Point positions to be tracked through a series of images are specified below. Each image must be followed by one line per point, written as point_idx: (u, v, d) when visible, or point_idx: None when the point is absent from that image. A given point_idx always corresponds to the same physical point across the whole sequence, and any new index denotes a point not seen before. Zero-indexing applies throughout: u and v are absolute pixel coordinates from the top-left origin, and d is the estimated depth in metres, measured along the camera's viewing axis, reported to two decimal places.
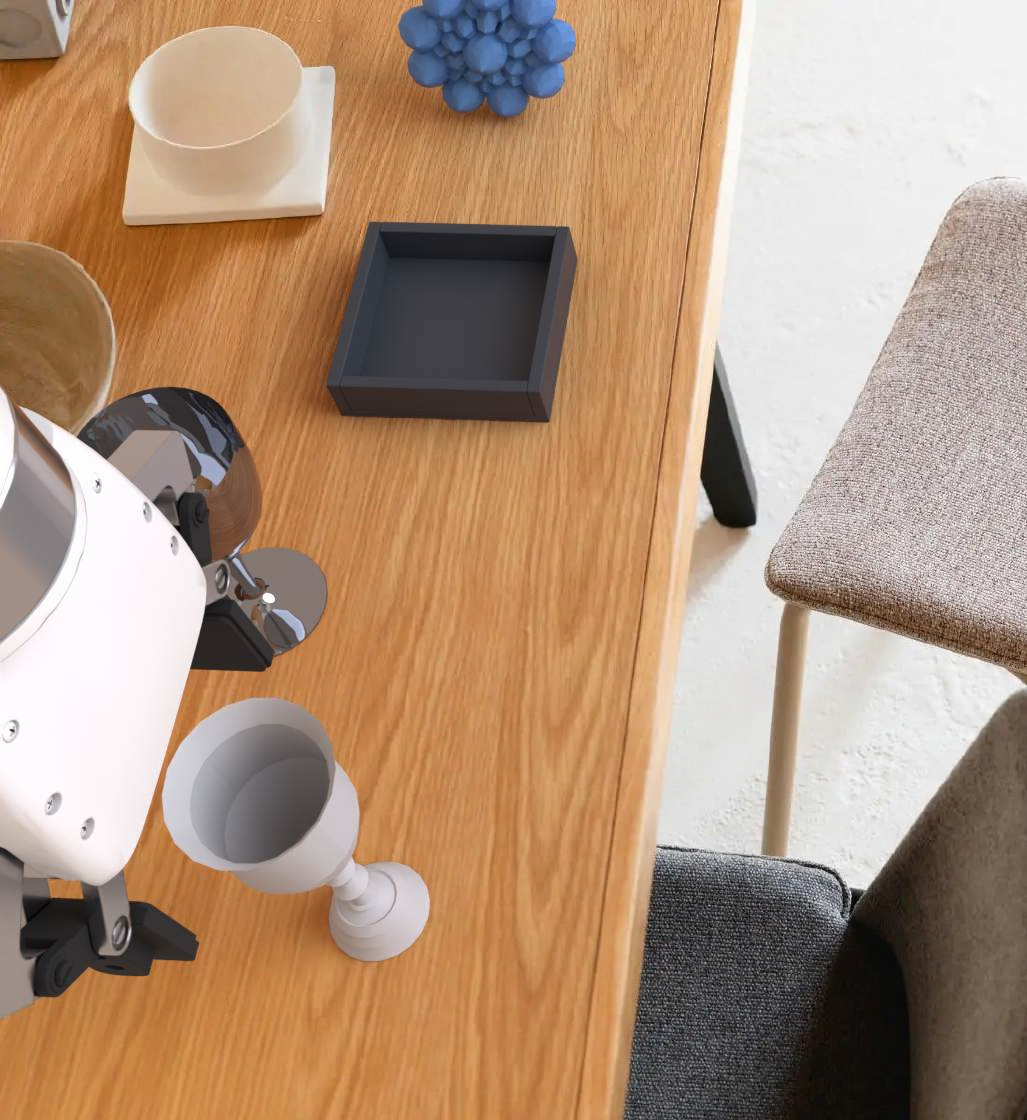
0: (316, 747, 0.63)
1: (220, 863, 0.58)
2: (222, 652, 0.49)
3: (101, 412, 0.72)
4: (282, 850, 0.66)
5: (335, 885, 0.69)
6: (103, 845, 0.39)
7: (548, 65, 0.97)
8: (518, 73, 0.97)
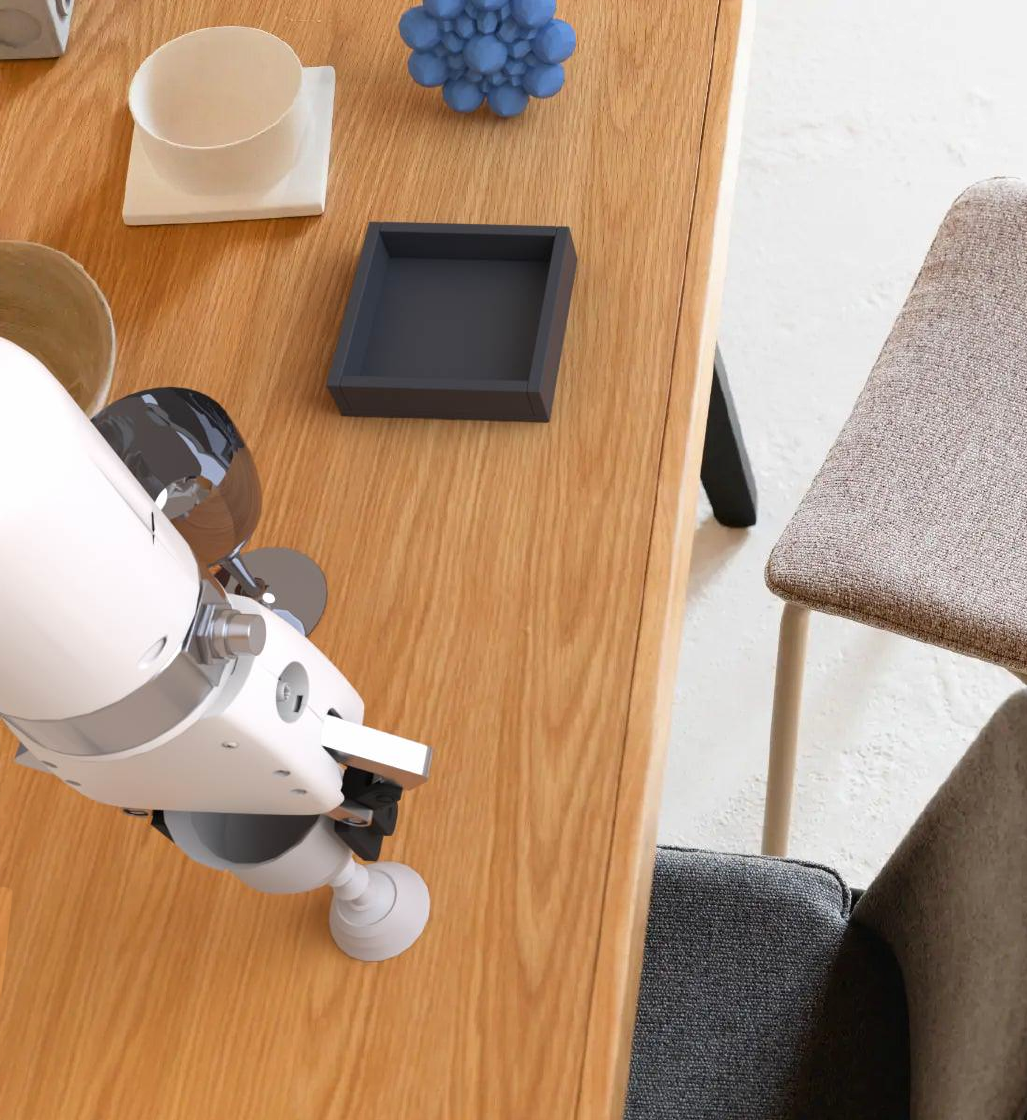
0: None
1: (220, 863, 0.58)
2: None
3: (101, 412, 0.72)
4: (282, 850, 0.66)
5: (335, 885, 0.69)
6: (84, 791, 0.55)
7: (548, 65, 0.97)
8: (518, 73, 0.97)
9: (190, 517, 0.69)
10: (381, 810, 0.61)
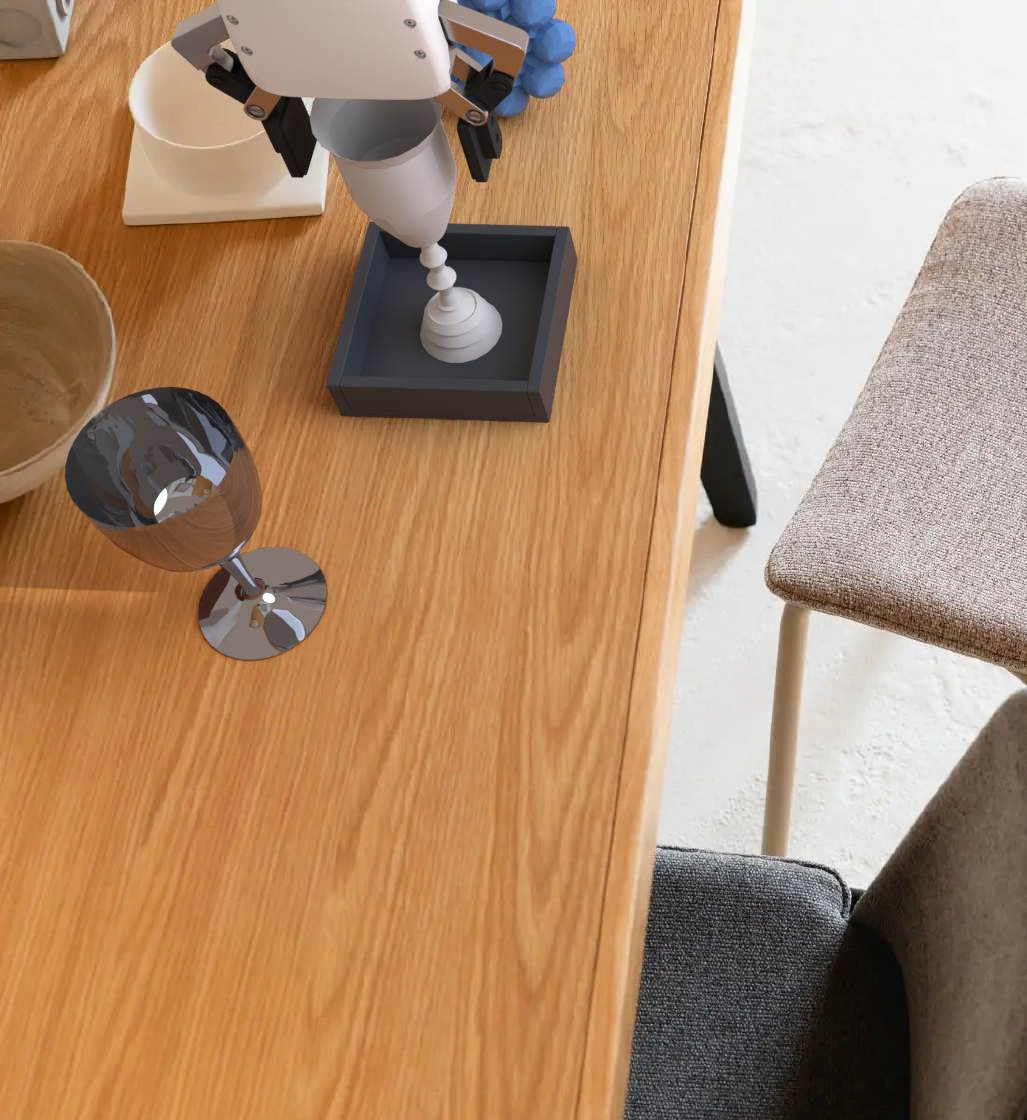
0: (423, 115, 0.80)
1: (356, 163, 0.75)
2: None
3: (101, 412, 0.72)
4: None
5: (431, 267, 0.86)
6: (253, 67, 0.71)
7: (548, 65, 0.97)
8: None
9: (190, 517, 0.69)
10: (492, 127, 0.77)
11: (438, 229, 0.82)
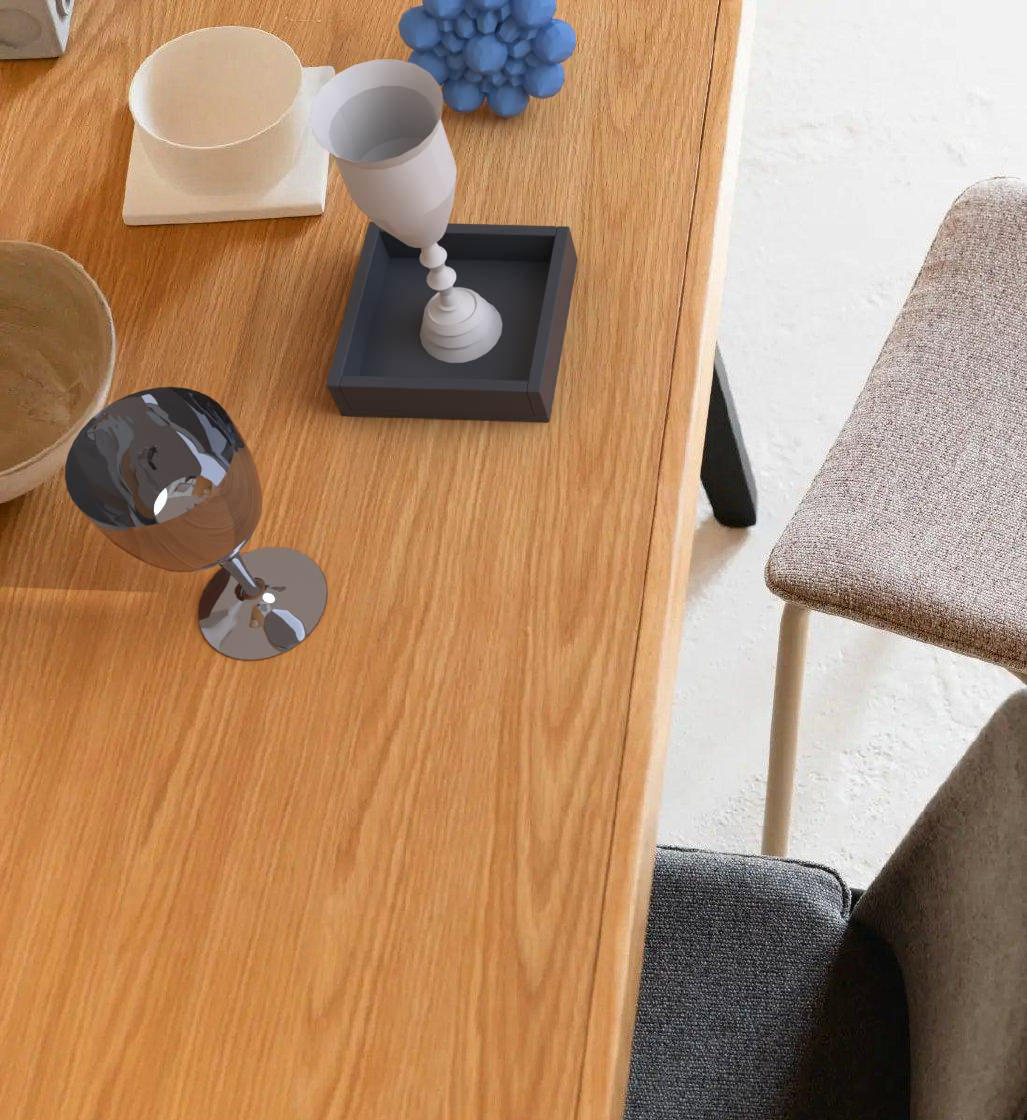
0: (423, 115, 0.80)
1: (356, 163, 0.75)
2: None
3: (101, 412, 0.72)
4: None
5: (431, 268, 0.86)
6: None
7: (548, 65, 0.97)
8: (518, 73, 0.97)
9: (190, 517, 0.69)
10: None
11: (438, 229, 0.82)
